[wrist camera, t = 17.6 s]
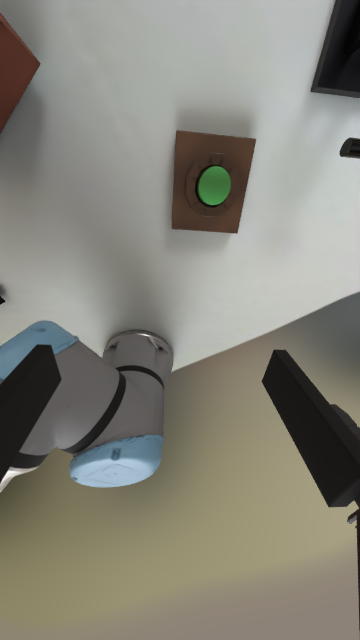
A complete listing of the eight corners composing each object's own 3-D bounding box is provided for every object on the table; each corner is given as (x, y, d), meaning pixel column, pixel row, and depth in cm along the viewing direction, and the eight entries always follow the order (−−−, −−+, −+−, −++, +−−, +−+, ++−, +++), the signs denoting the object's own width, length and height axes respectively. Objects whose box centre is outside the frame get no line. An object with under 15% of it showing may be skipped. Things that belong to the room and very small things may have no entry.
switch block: (232, 231, 33) (241, 235, 29) (171, 226, 32) (171, 230, 28) (249, 143, 27) (261, 134, 24) (175, 136, 27) (176, 125, 23)
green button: (224, 205, 28) (227, 206, 26) (195, 203, 27) (196, 203, 26) (230, 169, 26) (234, 167, 24) (198, 166, 25) (200, 164, 24)
